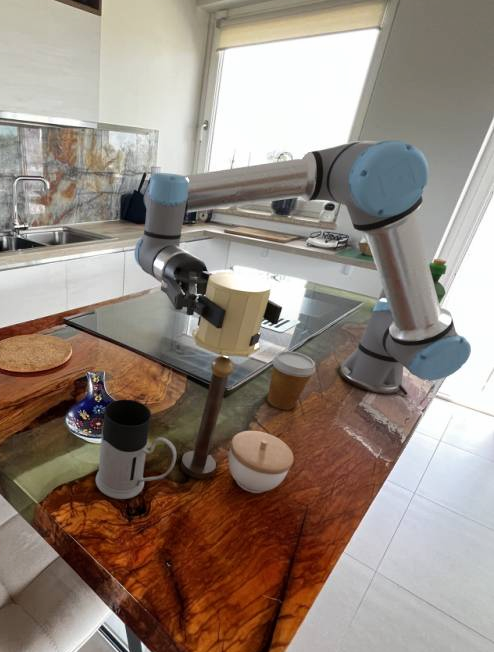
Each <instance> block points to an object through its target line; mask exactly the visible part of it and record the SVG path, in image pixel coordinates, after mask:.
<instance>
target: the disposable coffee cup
mask: <svg viewBox="0 0 494 652" xmlns="http://www.w3.org/2000/svg"><path fill="white" fill-rule="evenodd" d="M315 372H316V363H315V361H314V360H313V359H312V358H311V357H309V356H307V355H306V354H303V353H300V352H296V351H291V350H282V351H279V352H277V353H276V355H275V356H273V358H272V370H271V376H270V382H269V388H268V394H267V399H266V400H267V403H269V405H271V406H273V407H274V408H277V409H279V410H288V411H289V410H292V409H293V408H294V407H295V405H296V403H297V402H298V399H300V396H301V394H302V393H303V390H304V389H305V387H306V385H307V384H308V382H309V380H310V378H311V377H312V375H313V374H314V373H315Z"/></svg>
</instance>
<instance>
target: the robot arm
mask: <svg viewBox="0 0 494 652" xmlns="http://www.w3.org/2000/svg"><path fill="white" fill-rule="evenodd" d="M429 169H430V168H429V163H428V160H427V158H426V156H425V154H424V153H423V152H422V151H421V150H420V149H419V148H418V147H416V146H414V145H412V144H410V143H408V142H407V143H406V142H404V141H400V140H396V139H393V140H382V141H375V140H374V141H372V140H355V141H350V142H346V143H343V144H340V145H336V146H335V145H334V146H331V147H327V148H323V149H319V150H318V149H317V150H312V151H307V152H305V153H304V154H303V155H302V156H301V157H300V158H295V159H287V160H281V161H273V162H268V163H261V164H254V165H248V166H242V167H234V168H230V169H229V168H228V169H220V170H215V171H208V172H200V173H194V174H187V175H182V174H177V173H169V172H168V173H167V172H154V173H153V174H152V175H151V176H150V179H149V183H148V184H147V186H146V188H145V189H144V192H143V204H144V206H145V209H146V210H145V211H146V212H145V222H144V230H143V236H142V237H141V238H140V239H139V240H138V242H137V244H136V245H135V248H134V253H133V255H134V259H135V262H136V264H137V265H138V266H139V267H140V268H141V270H142V271H143V272H144V273H146V274H148V275H150V277H152V278H154V279H155V280H156V281H158V282H159V283H160V291H161V292H163V293H164V294H165V295H166V296H167V297H168V299H169V302H170V303H171V304H172V306H173V308H174V309H175V310H177V311H182V310H183V308H186V312H185V315H187V316H194V314H197V315H199V316H202V317H203V318H204V319H206V320H207V321H208V322H209V323H211V324H212V325H213V326H215V327H216V328H217V329H219V328H222V325H223V321H224V317H225V313H226V310H224V309H223V308H221V307H220V306H218V305H217V304H215V303H214V302H212V301H211V300H210V299H208V298H207V297H205V294H206V289H207V284H208V279H209V276H210V275H212V274H213V273H212V272H210V271H208V268H207V265H206V263H205V262H204V261H203V260H202V259H201V258H199V257H198V256H195V255H194V254H192V253H190V252H189V251H187V250H185V249H183V248H182V247H180V244H181V237H182V229H183V225H184V224H183V223H184V220H185V219H184V218H185V214H187V213H195V212H202V211H209V210H217V209H223V208H232V207H239V206H245V205H253V204H254V205H255V204H260V203H267V202H275V201H281V200H289V199H290V200H291V199H297V198H299V199H300V200H301V201H303V202H312V201H326V202H334V203H337V204H339V205H340V204H341V205H343V206H345V207H346V209H347V212H348V215H349V217H350V221H351V225H352V226H353V229H354V231H356V232H358V233H362V234H365V237H366V240H367V244H368V246H369V250H370V252H371V255H372V258H373V261H374V262H373V263H374V264H375V268H376V271H377V274H378V276H379V277H378V278H379V279H380V283H381V286H382V288H383V289H384V292H385V295H386V298H383V299H380V300H379V301H378V302H377V301H376V302H377V304H376V303H375V305H374V307H373V309H372V310H371V313H370V317H369V318H368V321H367V324H366V326H365V328H364V331H363V333H362V335H361V338H360V340H359V343H358V345H357V347H356V348H355V350H354V351H353V352H352V353H351V354H350V355H349V356H348V357H347V359H346V360H345V361H343V363H342V364H341V366H340V369H339V374H340V376H341V377H342V379H344V380H345V381H346V382H347V383H349V384H351V385H352V386H355V387H357V388H359V389H361V390H365V391H368V392H371V393H376V394H383V395H384V394H385V395H387V394H388V395H389V394H395V393H397V392H399V390H400V391H401V393H402V394H403V395H404V396H407V395H409V393H408V391H407V390H406V389H405V388H404V387H403V378H404V377H403V376H404V368H406V369H407V371H408V372H409V373H410V374H411V375H413V376H415V377H417V378H418V379H420V380H423V381H428V382H429V381H430V382H432V381H439V380H442V379H445V378H448V377H450V376H451V375H453V374H455V373H456V372H457V371H459V370H460V369H461V368H462V367H463V366H464V365H465V364H466V363H467V361H468V360H469V358H470V356H471V352H472V347H471V343H469V341H468V340H467V339H466V338H465V337H464V336H462V335H460V334H458V333H457V331H456V326H455V324H454V318H453V315H452V313H451V311H449V310H448V309H446V308H444V307H441V305H440V304H439V301H438V298H437V294H436V290H435V286H434V282H433V279H432V275H431V271H430V267H429V263H430V262H429V261H428V259H429V258H428V256H427V251H426V249H425V245H424V240H423V238H422V232H421V230H420V226H419V221H418V218H417V213H418V210H419V209H420V208H421V207H422V205H423V203H424V201H423V200H424V199H423V193H424V188H425V186H427V184H428V181H429V175H430V173H429V172H430V170H429ZM282 311H283V307H282V306H281V305H279V304H278V303H276V302H274V301H272V300H270V299H268V303H267V306H266V310H265V313H264V317H263V320H266V321H267V322H269V323H270V324H272V325H278V323H279V320H280V317H281V314H282Z"/></svg>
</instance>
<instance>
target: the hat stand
mask: <svg viewBox="0 0 494 652" xmlns="http://www.w3.org/2000/svg"><path fill="white" fill-rule="evenodd" d="M234 368H235V365H234V362H233V360H232V359H231V357H230V356H223V355H218V356H216V357H215V358H214V359H213V360H212V362H211V364H210V369H211V372H212V374H211V378H210V382H209V385H208V391H207V395H206V399H205V403H204V408H203V413H202V416H201V421H200V425H199V429H198V433H197V436H196V437H197V438H196V442H195V446H194V450H189V451H186V452H185V453H184V454H182V457H181V462H180V467H181V469H182V471H183V473H184V474H186V475H187V476H189V477H191V478H193V479H197V480H208V479H210V478H211V477H213V475H214V474H215V471H216V468H217V462H216V460H215V459H214V457H212V455H210V454H209V453H210V449H211V446H212V441H213V437H214V434H215V429H216V426H217V422H218V418H219V414H220V409H221V407H222V402H223V399H224V395H225V391H226V388H227V383H228V379H229V376H231V375H232V373H233V372H234Z"/></svg>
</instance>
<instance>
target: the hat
mask: <svg viewBox="0 0 494 652" xmlns="http://www.w3.org/2000/svg"><path fill="white" fill-rule="evenodd" d="M271 289H272V287H271V284H270V283H269V282H267V281H266V280H264V279H261V278H260V277H256V276H252V275H248V274H243V273H237V272H215V273H212V275H210V276H209V279H208V284H207V289H206V294H205V295H204V296H205V297H207V298H208V299H210V300H211V301H212V302H214V303H215V304H217V305H218V306H220V307H221V308H223V309H224V310H226V313H225V317H224V321H223V325H222V328H219V329H217V328H216V327H215V326H213V325H212V324H211V323H209V322H208V321H207V320H206V319H204V318H203V317H202V316H200V315H199V316H198V321H197V326H198V328H196V329H193V330H192V331H191V336H192V338H193V341H194V343H195V345H196V346H197V347H199V348H202V349H205V350H206V351H208V352H211V353H213V354H216V355H218V356H227V357H240V358H242V357H243V358H247V357H250V356H251V355H253V354H255V353H256V352H258V351H259V350H260V349H261V347H262V346H261V344H260V343H259V341H260V338H261V334H262V333H261V332H260V330H261V327H262V324H263V320H264V318H263V317H264V313H265V310H266V306H267V303H268V300H270V296H271Z"/></svg>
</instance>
